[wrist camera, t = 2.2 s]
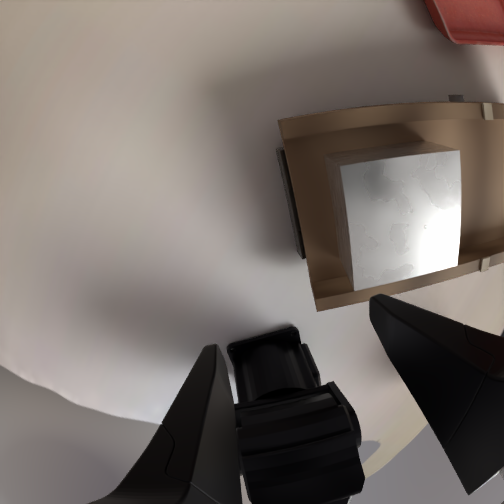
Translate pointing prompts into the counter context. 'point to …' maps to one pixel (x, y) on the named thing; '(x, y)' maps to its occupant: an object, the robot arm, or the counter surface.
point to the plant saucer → (469, 20)
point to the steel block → (395, 210)
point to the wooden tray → (386, 133)
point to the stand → (291, 201)
